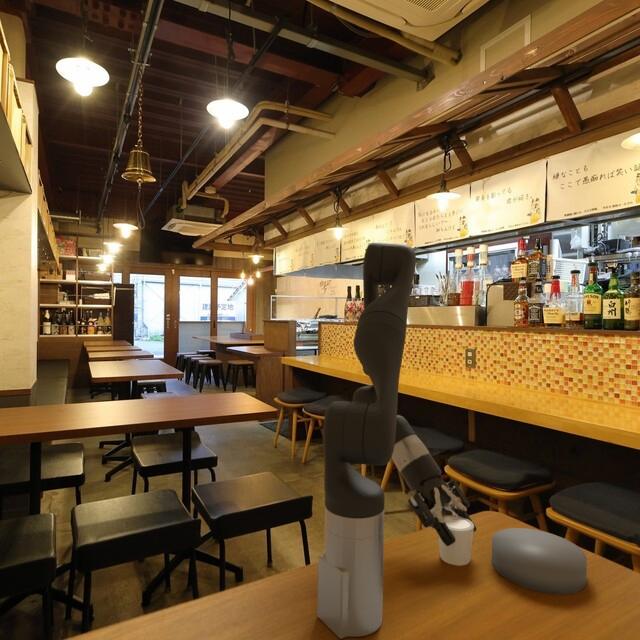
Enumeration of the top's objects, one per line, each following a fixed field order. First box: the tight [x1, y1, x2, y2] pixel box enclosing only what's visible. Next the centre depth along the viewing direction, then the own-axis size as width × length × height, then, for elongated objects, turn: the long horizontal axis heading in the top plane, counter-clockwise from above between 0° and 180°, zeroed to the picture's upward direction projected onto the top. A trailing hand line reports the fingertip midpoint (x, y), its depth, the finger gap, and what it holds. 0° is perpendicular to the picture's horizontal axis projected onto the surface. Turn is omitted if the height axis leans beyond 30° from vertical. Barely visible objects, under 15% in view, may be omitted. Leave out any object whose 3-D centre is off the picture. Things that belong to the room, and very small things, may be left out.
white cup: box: [438, 514, 475, 567], centre depth 88 cm, size 7×7×7 cm
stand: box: [491, 527, 588, 596], centre depth 85 cm, size 16×16×4 cm
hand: (462, 538), depth 87 cm, fingers closed on white cup, 7 cm apart
